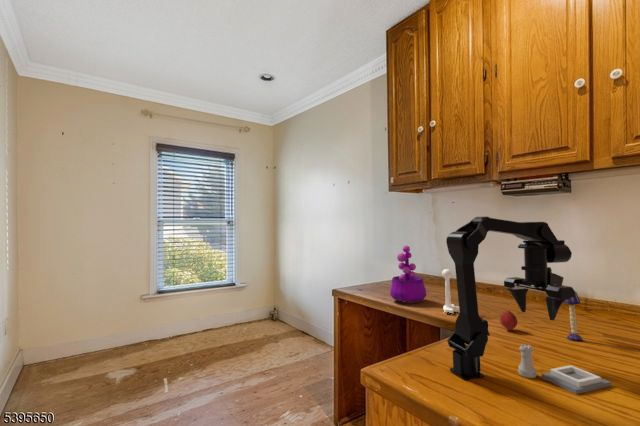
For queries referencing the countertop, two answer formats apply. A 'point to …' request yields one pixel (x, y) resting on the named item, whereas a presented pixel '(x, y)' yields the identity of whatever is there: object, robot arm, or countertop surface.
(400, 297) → the decorative plant
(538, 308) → the countertop surface
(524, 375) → the rook chess piece
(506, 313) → the onion
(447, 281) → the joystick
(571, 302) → the toy lamp
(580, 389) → the collar plate
